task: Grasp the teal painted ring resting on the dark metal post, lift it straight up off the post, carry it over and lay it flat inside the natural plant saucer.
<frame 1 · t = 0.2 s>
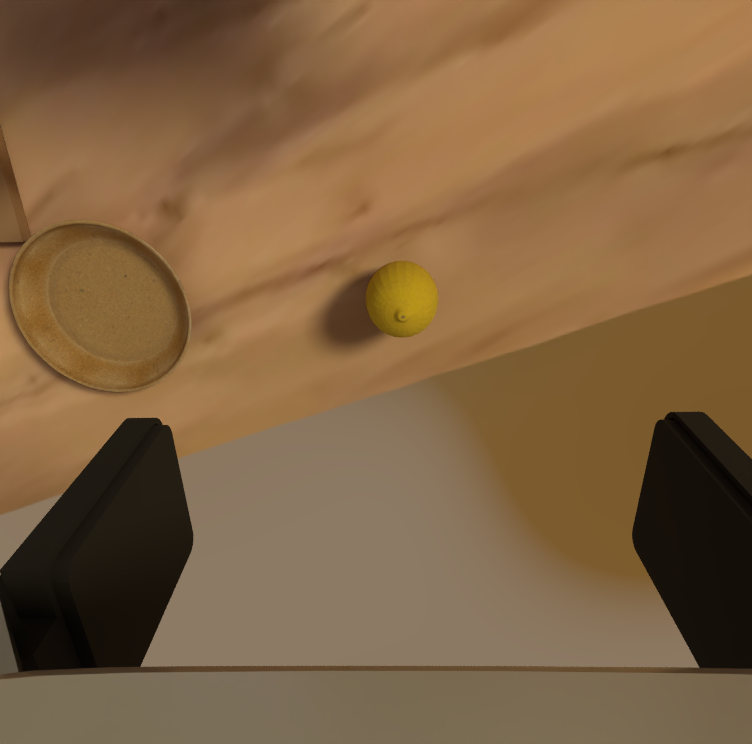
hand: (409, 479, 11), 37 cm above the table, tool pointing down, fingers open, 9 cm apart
lemon: (400, 282, 47), on the table
plant saucer: (115, 301, 49), on the table
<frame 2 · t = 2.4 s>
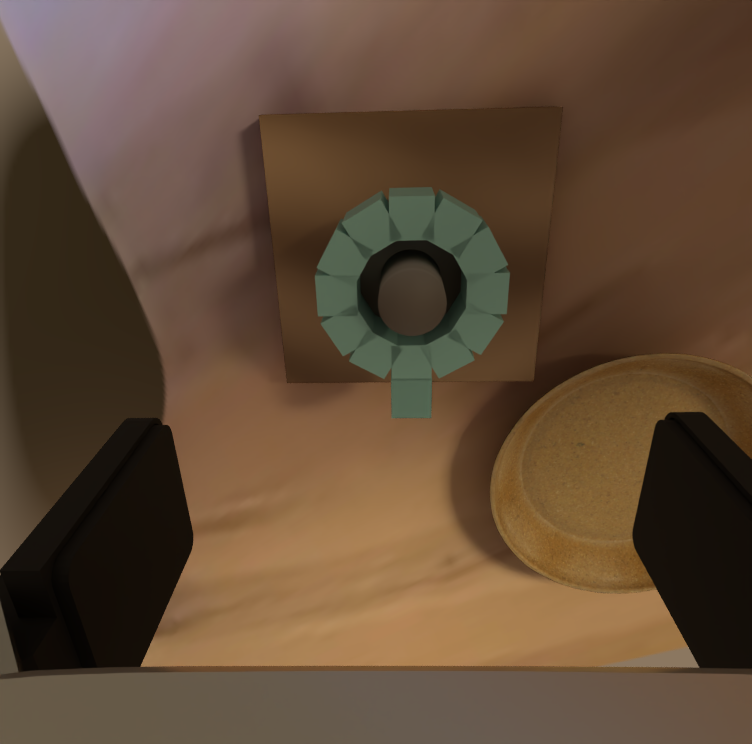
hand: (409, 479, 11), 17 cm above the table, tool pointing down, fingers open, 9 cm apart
ring: (410, 279, 23), point 4 cm above the table, touching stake
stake: (408, 254, 26), on the table
plant saucer: (618, 456, 31), on the table
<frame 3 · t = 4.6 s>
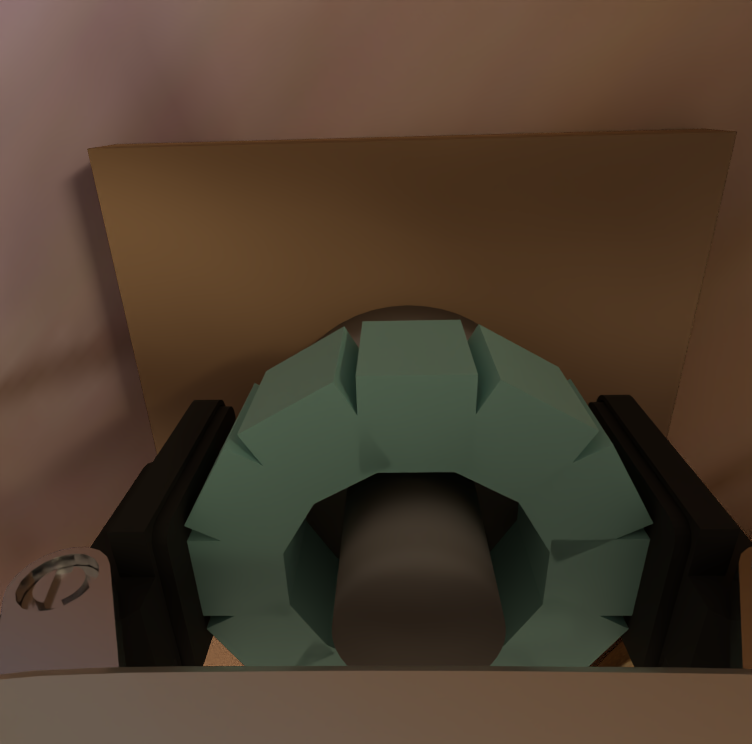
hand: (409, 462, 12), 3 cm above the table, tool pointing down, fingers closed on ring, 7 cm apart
ring: (411, 497, 11), point 4 cm above the table, touching gripper, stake
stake: (405, 396, 14), on the table
plant saucer: (745, 686, 19), on the table
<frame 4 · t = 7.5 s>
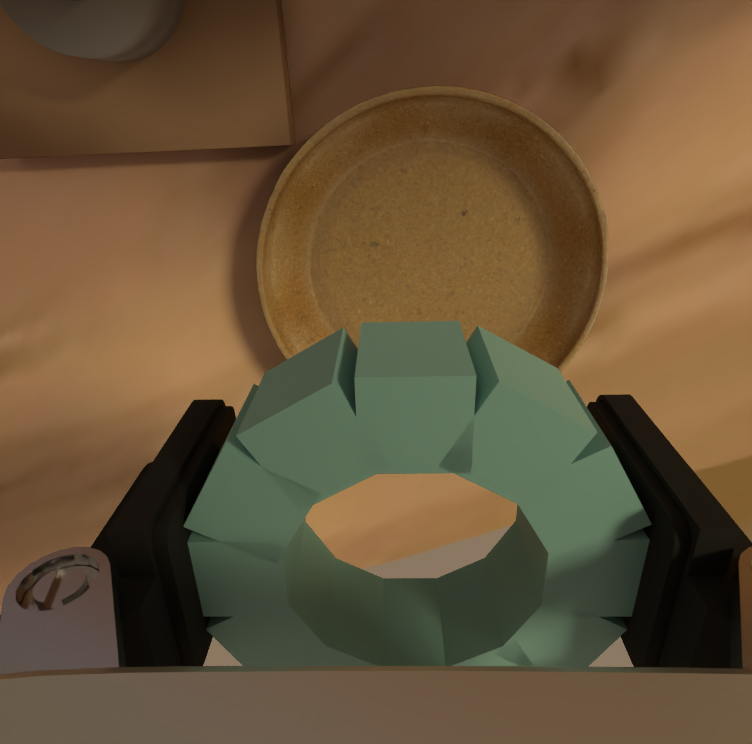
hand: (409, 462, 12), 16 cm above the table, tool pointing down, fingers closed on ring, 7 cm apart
ring: (410, 498, 11), point 17 cm above the table, touching gripper
plant saucer: (426, 264, 26), on the table
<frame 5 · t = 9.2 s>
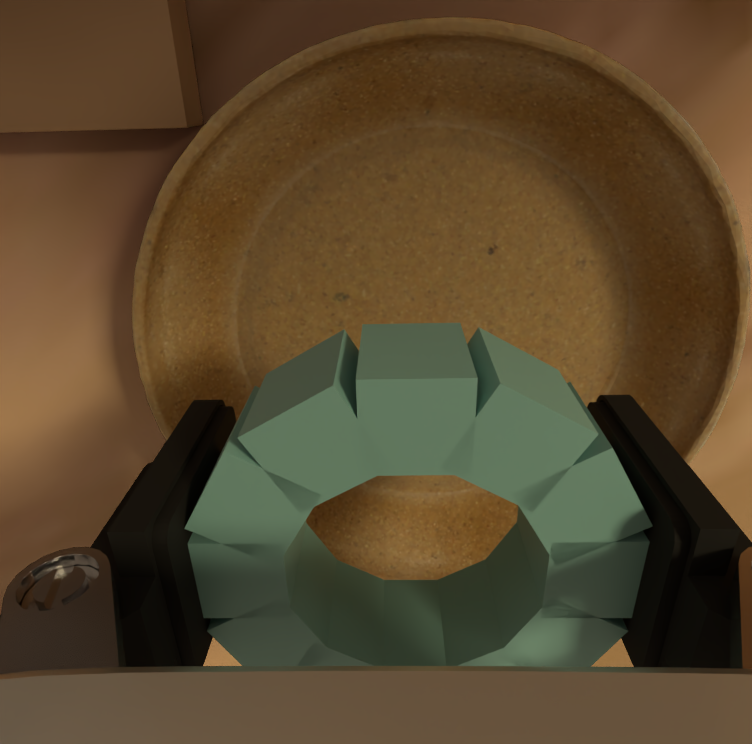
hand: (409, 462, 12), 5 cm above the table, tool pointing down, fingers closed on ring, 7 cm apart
ring: (411, 499, 11), point 6 cm above the table, touching gripper
plant saucer: (426, 327, 16), on the table
when the fingers open (3 cm above the table, at t = 10.6 s): ring drops 2 cm, resting on plant saucer.
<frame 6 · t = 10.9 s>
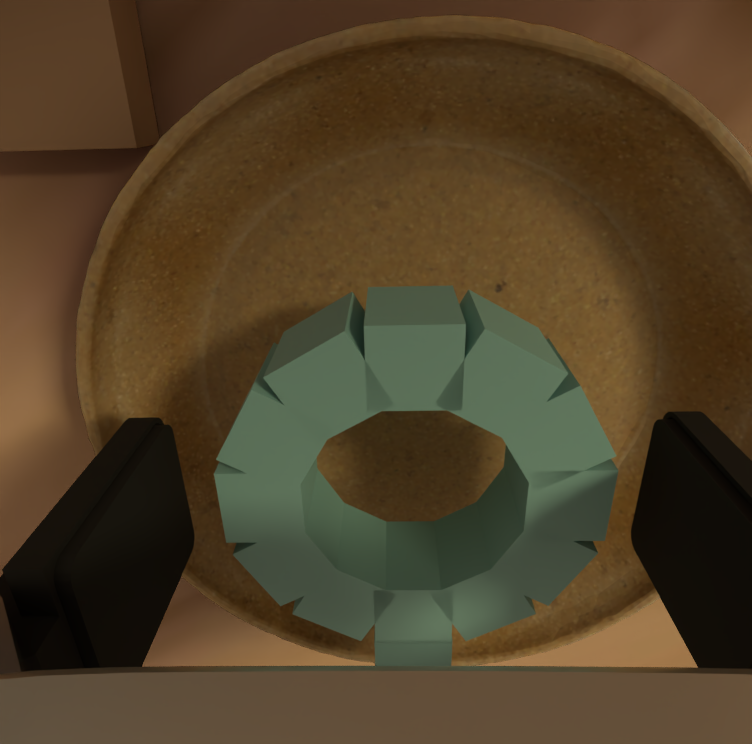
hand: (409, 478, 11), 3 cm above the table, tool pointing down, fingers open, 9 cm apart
ring: (410, 446, 12), point 2 cm above the table, touching plant saucer
plant saucer: (424, 371, 14), on the table, touching ring
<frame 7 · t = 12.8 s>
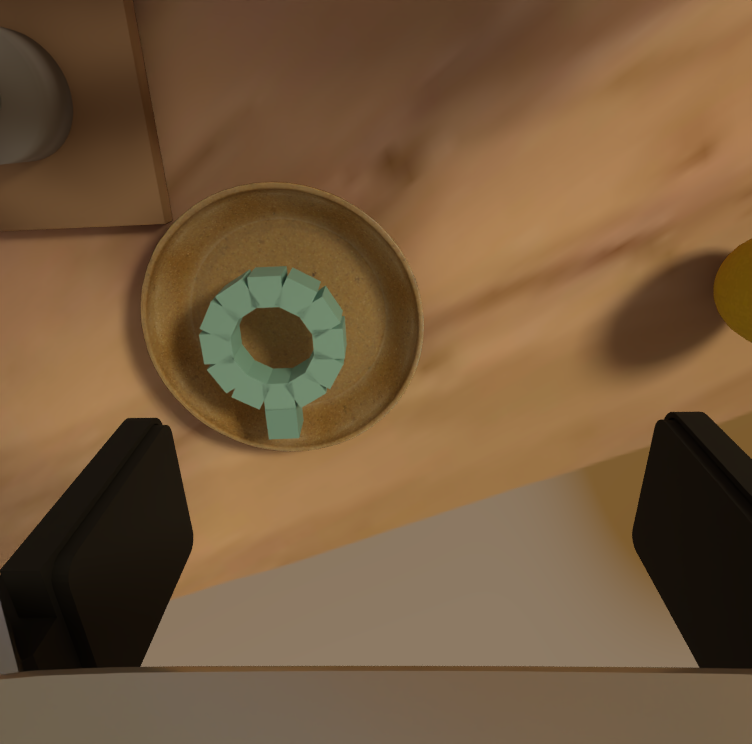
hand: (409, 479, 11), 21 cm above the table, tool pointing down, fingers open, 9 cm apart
lemon: (735, 270, 31), on the table
ring: (278, 333, 30), point 2 cm above the table, touching plant saucer
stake: (25, 98, 27), on the table
plant saucer: (289, 314, 32), on the table, touching ring
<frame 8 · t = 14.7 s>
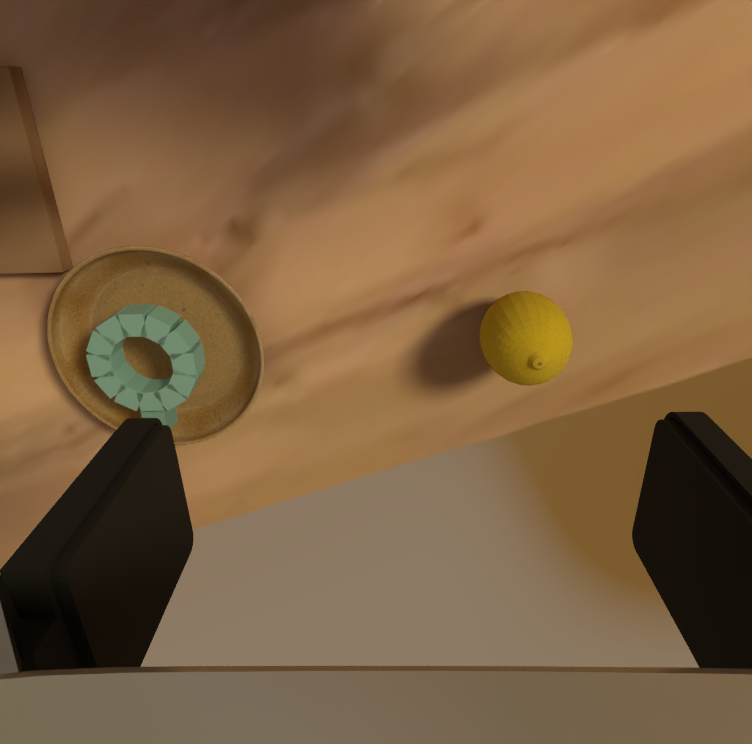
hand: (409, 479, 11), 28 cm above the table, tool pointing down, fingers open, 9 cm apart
lemon: (511, 314, 40), on the table
ring: (153, 352, 39), point 2 cm above the table, touching plant saucer
plant saucer: (170, 338, 41), on the table, touching ring
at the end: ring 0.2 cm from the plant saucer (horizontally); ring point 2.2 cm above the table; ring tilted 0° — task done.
